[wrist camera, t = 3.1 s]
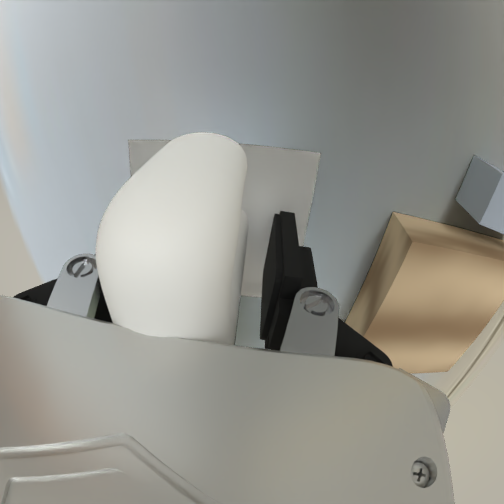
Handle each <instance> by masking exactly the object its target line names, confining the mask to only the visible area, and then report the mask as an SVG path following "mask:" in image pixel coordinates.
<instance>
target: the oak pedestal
mask: <svg viewBox="0 0 504 504" xmlns="http://www.w3.org/2000/svg"><path fill="white" fill-rule="evenodd" d="M503 301H504V241H503V240H500V239H497V238H494V237H490V236H487V235H483V234H480V233H476V232H473V231H469V230H465V229H462V228H458V227H454V226H450V225H446V224H442V223H438V222H434V221H430V220H426V219H422V218H418V217H414V216H409V215H405V214H401V213H396V212H393V213H392V216H391V218H390V221H389V223H388V226H387V229H386V231H385V234H384V236H383V239H382V241H381V244H380V246H379V249H378V251H377V253H376V256H375V258H374V261H373V263H372V265H371V268H370V270H369V272H368V274H367V277H366V279H365V281H364V283H363V286H362V288H361V290H360V292H359V294H358V296H357V299H356V301H355V303H354V305H353V307H352V309H351V311H350V313H349V315H348V317H347V319H346V321H345V323H346V324H347V325H349V326H350V327H351V328H353V329H354V330H355V331H357V332H358V333H359V334H360V335H362V336H363V337H364V338H366V339H367V340H368V341H370V342H371V343H372V344H374V345H375V346H376V347H378V348H379V349H380V350H381V351H383V352H384V353H385V354H386V355H387V356H388V357H389V359H390V360H391V362H392V365H393V367H394V368H397V369H399V368H401V369H403V370H405V371H406V372H408V373H432V372H447V371H449V369H450V368H451V367H452V366H453V365H454V364H455V363H456V362H457V361H458V359H459V358H460V357H461V356H462V355H463V354H464V352H465V351H466V350H467V349H468V348H469V346H470V345H471V344H472V343H473V341H474V340H475V339H476V338H477V336H478V335H479V334H480V333H481V331H482V330H483V329H484V327H485V326H486V325H487V323H488V322H489V321H490V319H491V318H492V317H493V315H494V314H495V312H496V311H497V310H498V308H499V307H500V305H501V304H502V302H503Z"/></svg>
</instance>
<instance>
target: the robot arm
mask: <svg viewBox="0 0 504 504" xmlns="http://www.w3.org/2000/svg"><path fill="white" fill-rule="evenodd" d="M260 339H262V340H265V349H260V348H252V347H244V346H237V345H230V344H223V343H216V342H210V341H201V340H191V339H182V338H175V337H157V336H148V335H144V334H141V333H138V332H134V331H132V330H130V329H129V328H125V327H122V326H119V325H116V324H114V323H113V322H112V319H111V316H110V313H109V310H108V307H107V304H106V300H105V297H104V294H103V291H102V287H101V283H100V279H99V275H98V270H97V264H96V254H95V255H93V254H80V255H76V256H74V257H72V258H70V259H69V260H68V261H67V262H66V263H65V264H64V266H63V268H62V270H61V272H60V275H59V277H58V279H55V280H52V281H50V282H47V283H44V284H42V285H39V286H37V287H34V288H32V289H29V290H27V291H24V292H22V293H19V294H17V295H16V296H14V297H7V296H0V504H455V503H454V494H453V486H452V479H451V471H450V465H449V459H448V453H447V449H446V445H445V440H444V436H443V432H444V429H445V426H446V423H447V419H448V416H449V412H450V403H449V400H448V398H447V397H446V395H445V394H444V393H443V392H441V391H440V390H438V389H436V388H435V387H433V386H431V385H429V384H428V383H426V382H424V381H422V380H420V379H419V378H417V377H415V376H413V375H412V374H410V373H408V372H406V371H405V370H403V369H401V368H399V369H397V368H394V367H393V365H392V362H391V360H390V359H389V357H388V356H387V355H386V354H385V353H384V352H383V351H381V350H380V349H379V348H378V347H376V346H375V345H374V344H372V343H371V342H370V341H368V340H367V339H366V338H364V337H363V336H362V335H360V334H359V333H358V332H357V331H355V330H354V329H353V328H351V327H350V326H349V325H347V324H346V323H345V322H343V321H342V320H341V319H339V303H338V301H337V299H336V298H335V297H334V296H333V295H332V294H331V293H329V292H328V291H326V290H323V289H321V288H318V287H317V281H316V275H315V269H314V263H313V257H312V252H311V248H309V247H302V246H299V242H298V234H297V227H296V219H295V213H292V212H285V211H280V214H274V218H273V223H272V228H271V234H270V239H269V244H268V249H267V254H266V259H265V264H264V269H263V279H262V302H261V324H260ZM269 349H271V350H269Z"/></svg>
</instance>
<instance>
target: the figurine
mask: <svg viewBox="0 0 504 504" xmlns="http://www.w3.org/2000/svg"><path fill="white" fill-rule="evenodd" d="M128 143H129V159H130V172H131V178H130V179H129V180H128V181H127V182H126V183H125V184H124V185H123V186H122V187H121V188H120V189H119V191H118V192H117V193H116V195H115V196H114V197H113V199H112V200H111V202H110V204H109V206H108V207H107V209H106V211H105V213H104V215H103V217H102V220H101V223H100V226H99V229H98V233H97V241H96V249H95V251H96V264H97V270H98V275H99V279H100V283H101V287H102V291H103V294H104V297H105V300H106V304H107V307H108V310H109V313H110V316H111V319H112V322H113V323H114V324H116V325H119V326H122V327H125V328H129V329H130V330H132V331H134V332H138V333H141V334H144V335H148V336H157V337H175V338H182V339H191V340H201V341H210V342H216V343H223V344H230V345H235V338H236V330H237V321H238V313H239V304H240V296H250V297H260V298H262V279H263V269H264V264H265V259H266V254H267V249H268V244H269V239H270V234H271V228H272V223H273V218H274V214H280V211H285V212H292V213H295V219H296V227H297V234H298V242H299V246H302V247H303V245H304V240H305V235H306V230H307V225H308V220H309V215H310V210H311V205H312V200H313V195H314V189H315V184H316V179H317V173H318V168H319V162H320V156H321V153H317V152H310V151H303V150H295V149H287V148H279V147H270V146H260V145H249V144H238V143H237V142H235V141H234V140H232V139H231V138H228V137H226V136H223V135H220V134H215V133H208V132H196V133H189V134H185V135H182V136H179V137H177V138H175V139H173V140H128Z"/></svg>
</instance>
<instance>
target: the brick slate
mask: <svg viewBox="0 0 504 504" xmlns="http://www.w3.org/2000/svg"><path fill="white" fill-rule="evenodd" d="M455 200H456V201H457V202H458V203H459V204H460V205H461V206H462V207H463V208H464V209H465V210H466V211H467V212H468V213H469V214H470V215H471V216H472V217H473V218H474V219H475V220H476V221H477V222H478V223H479V224H480V225H483V226H485V227H487V228H490V229H492V230H495V231H497V232H499V233H502V234H504V172H503V171H501V170H500V169H498V168H496V167H495V166H493V165H491V164H490V163H488V162H486V161H484V160H483V159H481V158H479V157H477V156H475V155H474V156H473V159H472V161H471V164H470V166H469V169H468V171H467V174H466V176H465V179H464V181H463V183H462V186H461V188H460V190H459V192H458V195H457V197H456V199H455Z"/></svg>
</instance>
